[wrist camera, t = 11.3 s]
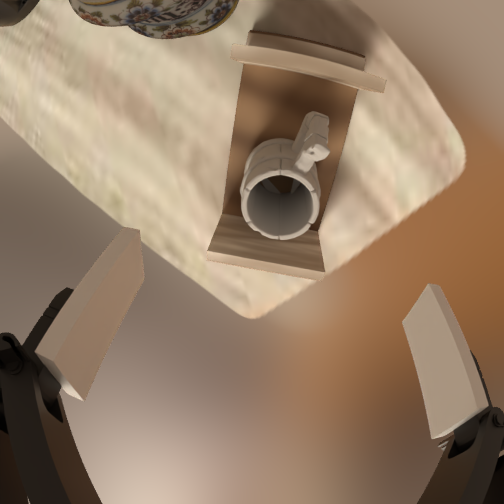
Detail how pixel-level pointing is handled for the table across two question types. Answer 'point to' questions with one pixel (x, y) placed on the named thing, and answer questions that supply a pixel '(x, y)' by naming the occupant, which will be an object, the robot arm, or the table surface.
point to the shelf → (286, 126)
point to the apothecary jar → (157, 15)
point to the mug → (289, 164)
